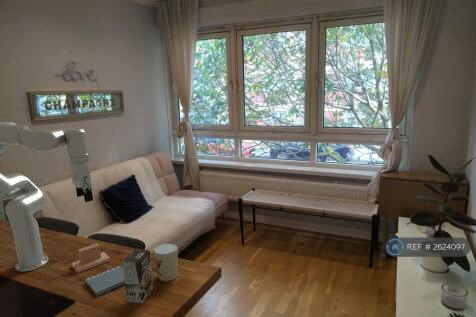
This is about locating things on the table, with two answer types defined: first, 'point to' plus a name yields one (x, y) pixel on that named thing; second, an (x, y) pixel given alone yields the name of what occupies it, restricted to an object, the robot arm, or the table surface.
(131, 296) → the coffee box
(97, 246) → the pink stepped block
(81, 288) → the table surface
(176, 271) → the coffee cup
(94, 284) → the light blue box
